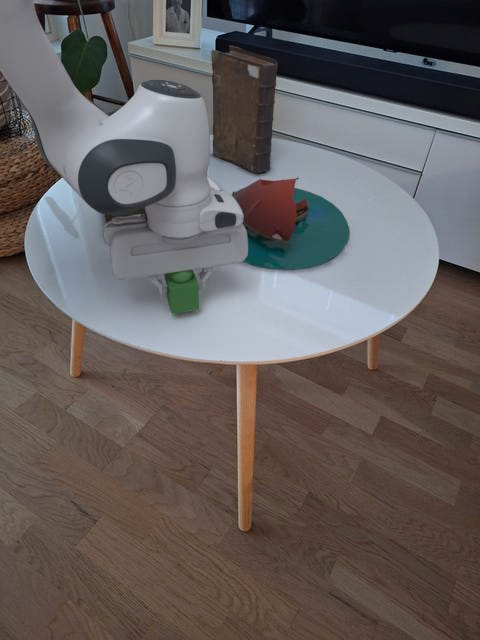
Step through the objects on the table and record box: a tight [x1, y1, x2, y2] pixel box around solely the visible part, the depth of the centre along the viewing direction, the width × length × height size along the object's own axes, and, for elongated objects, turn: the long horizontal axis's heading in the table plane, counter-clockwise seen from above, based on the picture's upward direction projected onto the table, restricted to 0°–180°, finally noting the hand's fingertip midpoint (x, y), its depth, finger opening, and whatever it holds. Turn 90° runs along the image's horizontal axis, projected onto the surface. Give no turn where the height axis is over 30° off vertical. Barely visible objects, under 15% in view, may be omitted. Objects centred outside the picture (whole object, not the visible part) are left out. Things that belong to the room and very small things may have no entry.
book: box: [210, 45, 279, 174], centre depth 111 cm, size 17×7×25 cm, turn 39°
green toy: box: [163, 269, 200, 315], centre depth 72 cm, size 4×4×8 cm
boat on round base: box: [231, 177, 351, 271], centre depth 92 cm, size 28×28×11 cm
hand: (182, 289), depth 73 cm, fingers closed on green toy, 4 cm apart
